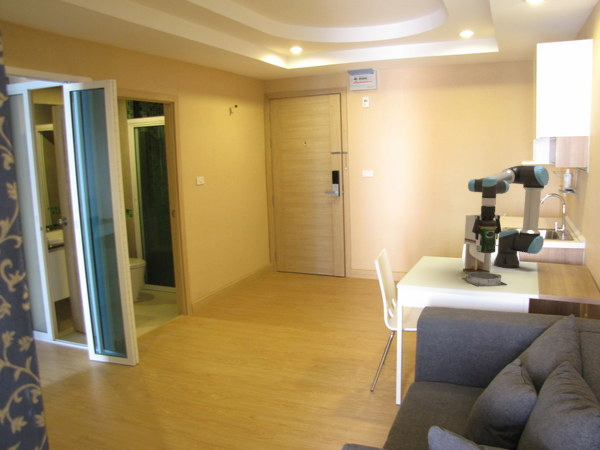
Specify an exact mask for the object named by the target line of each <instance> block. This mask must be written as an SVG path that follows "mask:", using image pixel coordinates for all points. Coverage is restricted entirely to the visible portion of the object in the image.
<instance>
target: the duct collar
mask: <svg viewBox="0 0 600 450" xmlns="http://www.w3.org/2000/svg"><path fill="white" fill-rule="evenodd" d="M502 276H503V275H502V274H497V273H493V272H490V273H489V272H470V273H466V276H464V277H463V276H461V279H462V280H464V281H466V282H467V283H470V284H471V285H473V286H475V287H493V286H497V287H499V286H508V284H507V283H505V282H503V281H502Z"/></svg>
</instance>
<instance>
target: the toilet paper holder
mask: <svg viewBox="0 0 600 450" xmlns="http://www.w3.org/2000/svg"><path fill="white" fill-rule="evenodd" d="M476 215H477V214H469V215H465V225H464V226H465V227H464V241H463V242H464V244H465V255H464V268H462V273H465V274H467V273H470V272H489V273H491V262H492V253H481V252H480V253H479V252H478V251H477V245H476V239H475V233H473V232H472V230H473V226H474V223H475V216H476ZM480 220H481V218H480Z"/></svg>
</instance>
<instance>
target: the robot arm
mask: <svg viewBox="0 0 600 450" xmlns="http://www.w3.org/2000/svg"><path fill="white" fill-rule="evenodd" d="M549 175H550V174H549V171H548V169H547V167H545V166H543V165H522V164H519V165H515V166H512V167H508V168H504V169H502V171H500V172H498V173H494V174H492V175H489V176H485V177H482V178H479V179H478V178H472V179H470V180H469V181H468V184H467V189H468V191H469V192H473V193H481V203H480V204H481V206H480V214H475V215H476V216H475V223H474V226H473V230H472V232H473V233H475V239H476V245H478V246H480V234H479V233H480V231H481V229H480V227H479V226H478V224H479V221H480V218H481V220H484V221H487V220H492V221H493V220H495V221H496V230H495V246H497V254H496V257H495V258H494V262H493V265H494V266H496V267H499V268H505V269H515V268H517V269H518V268H519V267H520V261H519V260H520V259H519V255H518V252H520V253H526V254H528V255H529V254H530V255H531V254H532V255H537V254H538V253H540V252H541V250H543V249H542V248H543V246H544V242H545V241H544V236H542V235H541V231H540V230H539V220H540V219H539V218H540V208H541V196H542V195H541V193H542V191H543V189H545V186H547V185H548V183H549V182H550V181H549V180H550V176H549ZM511 184H517V185H523V186H522V188H523V189H524V190H525V192H524V193H525V196H524V204H523V205H524V207H523V222H522V228H521V230H520V231H519V230H517V229H510V230H509V229H507V230H502V225H501V219H500V218H501V215H499V214H496V205H497V195H503V194H506V193H507V192H509V190H510V185H511ZM497 241H498V243H497ZM497 244H498V245H497Z"/></svg>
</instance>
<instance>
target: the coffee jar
mask: <svg viewBox="0 0 600 450" xmlns="http://www.w3.org/2000/svg"><path fill="white" fill-rule="evenodd" d="M478 226H479V227H480V229H481V231H480V233H479V234H480V246H478V245H477V251H478V252H479V253H480V252H481V253H491V254H493V253H496V245H495V230H496V228H497V227H496V221H495V219H494V220H493V221H492V220H487V221H484V220H480V221H479V224H478Z"/></svg>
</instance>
